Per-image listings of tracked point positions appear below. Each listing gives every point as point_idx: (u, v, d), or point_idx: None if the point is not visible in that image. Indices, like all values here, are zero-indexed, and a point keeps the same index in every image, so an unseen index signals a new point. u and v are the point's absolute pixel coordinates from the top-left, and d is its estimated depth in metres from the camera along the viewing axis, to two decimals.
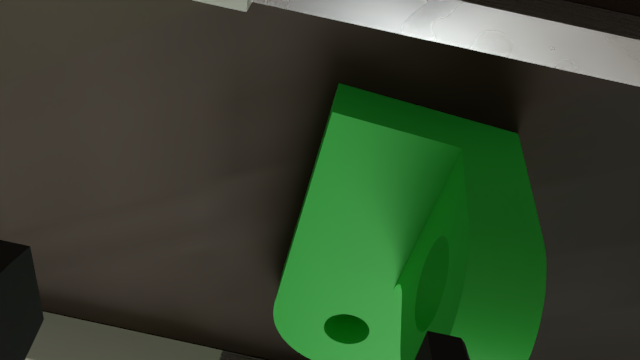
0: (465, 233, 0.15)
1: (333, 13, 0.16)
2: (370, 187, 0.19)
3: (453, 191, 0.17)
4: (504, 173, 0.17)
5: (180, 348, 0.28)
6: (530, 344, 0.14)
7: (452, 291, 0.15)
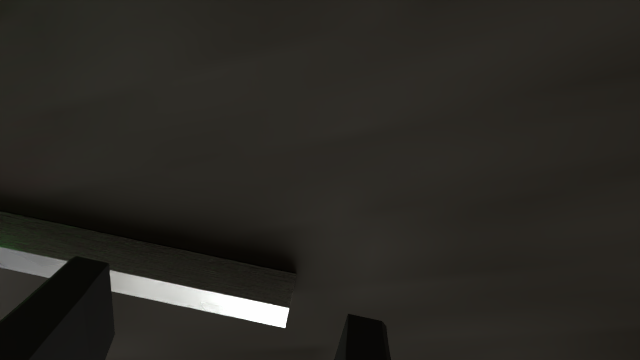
0: None
1: None
2: None
3: None
4: None
5: None
6: None
7: None
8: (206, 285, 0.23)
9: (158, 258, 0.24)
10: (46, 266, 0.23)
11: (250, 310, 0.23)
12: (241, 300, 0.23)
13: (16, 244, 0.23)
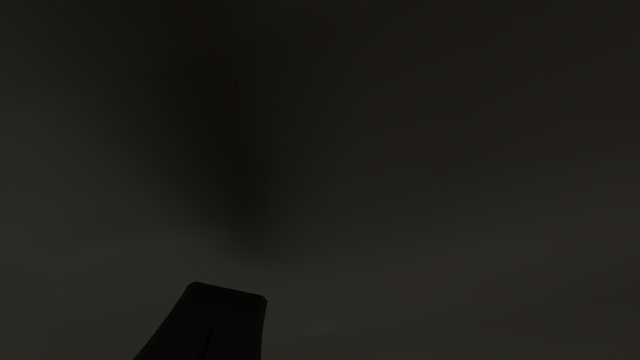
0: None
1: None
2: None
3: None
4: None
5: None
6: None
7: None
8: None
9: None
10: None
11: None
12: None
13: None
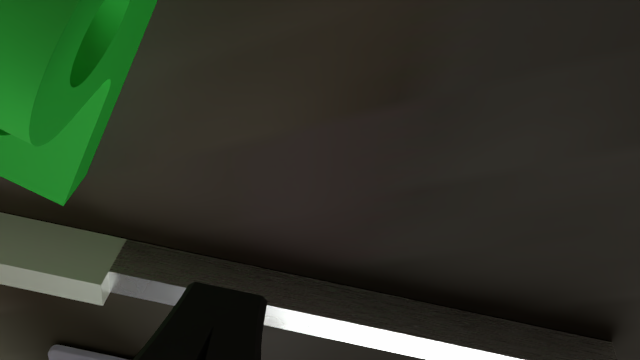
0: None
1: None
2: None
3: None
4: None
5: (76, 235, 0.24)
6: (61, 24, 0.10)
7: None
8: (538, 357, 0.23)
9: (480, 328, 0.24)
10: (375, 337, 0.23)
11: None
12: None
13: (346, 316, 0.23)
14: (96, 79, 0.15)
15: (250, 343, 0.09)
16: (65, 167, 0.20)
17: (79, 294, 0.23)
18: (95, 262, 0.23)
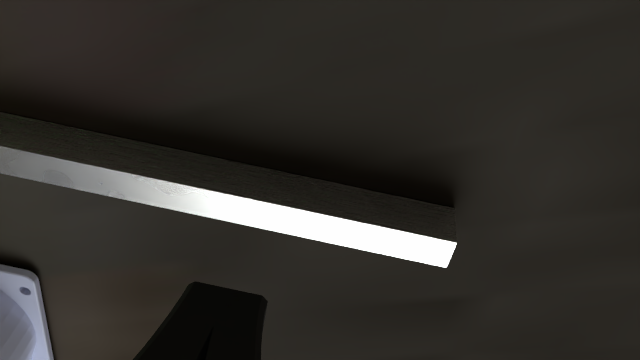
0: None
1: None
2: None
3: None
4: None
5: None
6: None
7: None
8: (360, 217, 0.20)
9: (300, 188, 0.21)
10: (174, 195, 0.20)
11: (409, 246, 0.20)
12: (401, 234, 0.20)
13: (140, 170, 0.20)
14: None
15: (250, 343, 0.09)
16: None
17: None
18: None
